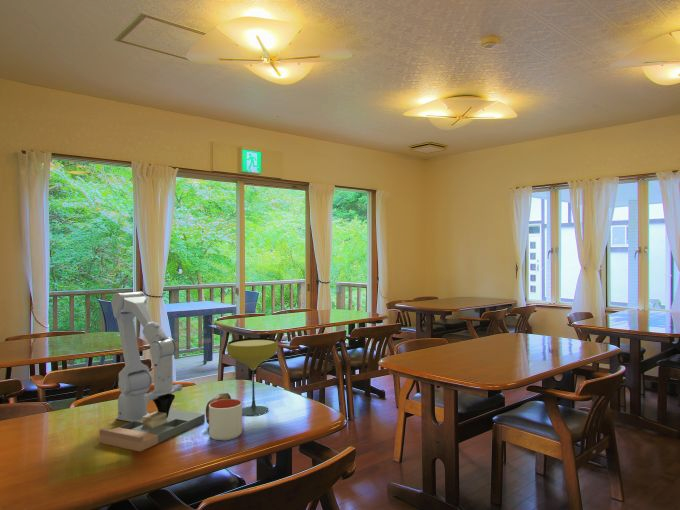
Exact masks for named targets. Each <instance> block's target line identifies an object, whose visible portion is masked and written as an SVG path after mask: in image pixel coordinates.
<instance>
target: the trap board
mask: <svg viewBox="0 0 680 510" xmlns="http://www.w3.org/2000/svg"><path fill="white" fill-rule="evenodd" d="M204 422H206V413H200V412H193V411H187V410H181V409H176V408H175V409H174V408H170V410H169V414H168V418H167V422H166V423H164V424H162V425H159V426H157V427H154V428H151V427H145V426H143V418H140V419H138V420H135V421H133V422H128V423H126V424H123V425H120V426H118V427H115V428H112V429H108V428H99V443H100V442H101V443H100V444H104V445H108V446H114V447H118V448H122V449H126V450H127V449H128V450H131V451H136V452H143V451H144V450H147V449H149V448H151V447H153V446H155V445H158V444H160V443H162V442H164V441H166V440H169V439H170V438H172V437H174V436H177V435H179V434H182V433H183V432H185V431H187V430H189V429H192V428H194V427H196V426H198V425H201V424H202V423H204Z"/></svg>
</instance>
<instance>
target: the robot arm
mask: <svg viewBox="0 0 680 510" xmlns="http://www.w3.org/2000/svg"><path fill="white" fill-rule="evenodd" d="M111 308H112V314H113V317H114V318H115V319H117V326H118V327H117V328H118V331H119V332H118V333H119V338H120V343H121V347H122V348H121V349H122V355H123V360H124V365H125V366H124V367H123V368H122V369H121V370H120V371H119V372H118V382H117V383H118V384H117V385H118V389H119V391H120V394H119V396H118V398H117V416H116V417H115V420H120V421H124V422H128V423H130V422H133V421H135V420H138V419H140V418H143V416H145V415H148V414H150V413H149V412H148V403H149V402H151V401H152V402H154V404H155V406H156V408H157V412H163V413H166V417H167V418H168V414H169V410H170V409H171V406H172V403H173V401H174V400H175V399H176V398H175V396H176V395H175V394H173V393H176V392H182V390H183V385H182V384H181V383H180V384H179V383H177V384H173V383H174V382H173V378H174V377H173V373H174V372H173V370H174V369H173V356H174V355H175V354H176V351H177V344H176V342H175V340H174V339H173V338H172V337H170V336H168V335H166V333H165V331H164V330H163V329H162V327H161V325H160V323H158V322H157V321H156V322H155V321H153V320H154V319H153V318H152V316H151V314H150V312H149V309H148V307H147V297H146V294H145V293H144V292H143V291H141V290H140V291H139V290H138V291H132V292H131V291H129V292H116V293H114V294H113V297H112V299H111ZM135 318H136V319H137V320H138V322H139V323H140V324H141V326H142V334H143V335H144V338H145V339H146V341H147V343H148V344H149V345H150V347H149V354H150V357H151V363H152V364H153V376H152V374H151V371H150V368H149V366H148V365H147V364H144V363H143V362H142V360H141V357H140V356H141V355H140V349H139V344H138V340H137V334H136V328H135V321H134V319H135ZM152 385H153V388H154V389H153V390H151V391H150V389H151V387H152ZM149 391H150V392H149ZM148 392H149V393H148Z"/></svg>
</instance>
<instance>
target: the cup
mask: <svg viewBox="0 0 680 510" xmlns="http://www.w3.org/2000/svg"><path fill="white" fill-rule="evenodd" d="M242 408H243V402H242V401H241V400H239V399H234V398H231V399H223V400H217V401H214V402H212V403H210V404H209V424H208V433H209V437H210V438H211V439H213V440H216V441H230V440H234V439H236V438H238V437H240V436H241V434H242V433H243V415H242Z"/></svg>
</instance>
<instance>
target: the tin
mask: <svg viewBox="0 0 680 510" xmlns="http://www.w3.org/2000/svg"><path fill="white" fill-rule="evenodd" d="M223 399H232V397H231V395H230V393H228V392H224V393H218V395H216V396H214V397H212V398H211V399H210V400H209V401H208V402H207V403H206V407H205V422H206V423H207V424H208V425H209V404H210V403H212V402H214V401H217V400H223Z"/></svg>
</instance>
